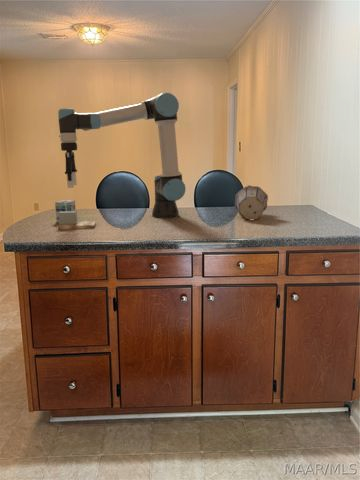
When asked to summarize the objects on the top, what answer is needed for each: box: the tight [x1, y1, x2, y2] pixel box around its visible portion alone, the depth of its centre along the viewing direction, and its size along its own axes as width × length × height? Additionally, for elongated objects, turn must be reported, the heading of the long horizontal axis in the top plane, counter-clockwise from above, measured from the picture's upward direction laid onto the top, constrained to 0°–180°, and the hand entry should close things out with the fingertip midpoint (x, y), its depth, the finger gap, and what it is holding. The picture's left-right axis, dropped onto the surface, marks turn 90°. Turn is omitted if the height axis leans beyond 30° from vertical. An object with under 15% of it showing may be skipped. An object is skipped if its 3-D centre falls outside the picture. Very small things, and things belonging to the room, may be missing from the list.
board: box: [57, 220, 97, 230], centre depth 205 cm, size 17×11×2 cm, turn 97°
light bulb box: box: [54, 199, 77, 223], centre depth 220 cm, size 11×7×11 cm, turn 168°
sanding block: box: [58, 210, 78, 226], centre depth 203 cm, size 8×5×6 cm, turn 97°
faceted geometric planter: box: [234, 185, 269, 220], centre depth 229 cm, size 18×18×30 cm
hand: (72, 186), depth 203 cm, fingers open, 13 cm apart
